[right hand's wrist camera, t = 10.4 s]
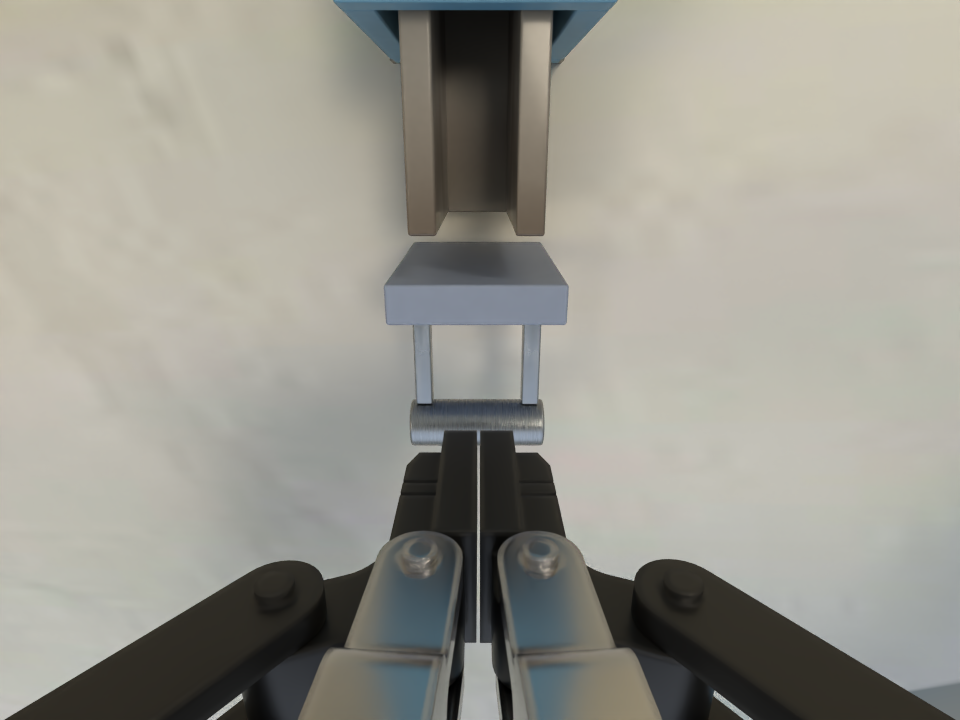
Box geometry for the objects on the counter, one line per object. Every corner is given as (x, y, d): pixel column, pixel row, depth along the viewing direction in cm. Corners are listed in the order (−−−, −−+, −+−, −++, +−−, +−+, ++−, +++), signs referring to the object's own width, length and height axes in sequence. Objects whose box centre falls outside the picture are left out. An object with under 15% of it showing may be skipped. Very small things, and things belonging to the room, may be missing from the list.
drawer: (535, 392, 26) (557, 489, 18) (420, 392, 26) (395, 489, 18) (562, -342, 17) (624, -710, 10) (389, -342, 17) (322, -709, 10)
